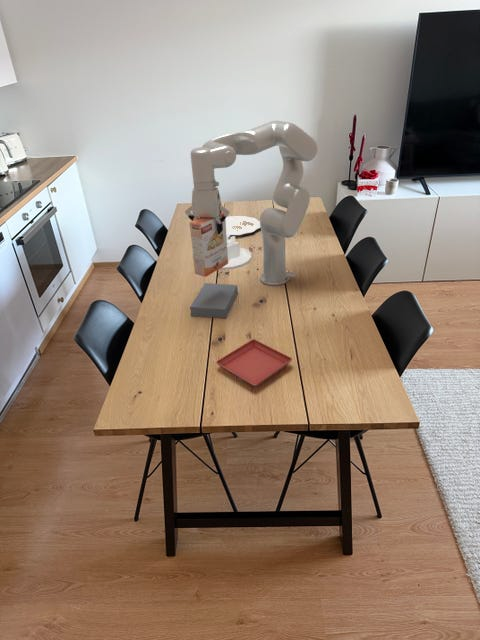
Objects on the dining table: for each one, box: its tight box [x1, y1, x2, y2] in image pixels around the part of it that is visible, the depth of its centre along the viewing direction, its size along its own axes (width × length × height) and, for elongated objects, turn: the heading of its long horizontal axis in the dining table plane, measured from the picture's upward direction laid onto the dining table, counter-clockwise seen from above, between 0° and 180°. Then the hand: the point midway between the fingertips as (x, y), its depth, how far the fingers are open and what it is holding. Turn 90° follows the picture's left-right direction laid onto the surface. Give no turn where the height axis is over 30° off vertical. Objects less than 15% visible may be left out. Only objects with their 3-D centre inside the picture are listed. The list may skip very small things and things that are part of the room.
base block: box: [189, 282, 239, 319], centre depth 189 cm, size 14×20×4 cm
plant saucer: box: [215, 338, 293, 388], centre depth 153 cm, size 18×18×3 cm
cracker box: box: [189, 212, 228, 278], centre depth 177 cm, size 14×6×21 cm, turn 143°
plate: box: [225, 215, 261, 238], centre depth 261 cm, size 29×29×2 cm
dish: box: [219, 234, 252, 270], centre depth 225 cm, size 25×25×11 cm
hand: (208, 232), depth 174 cm, fingers closed on cracker box, 7 cm apart
